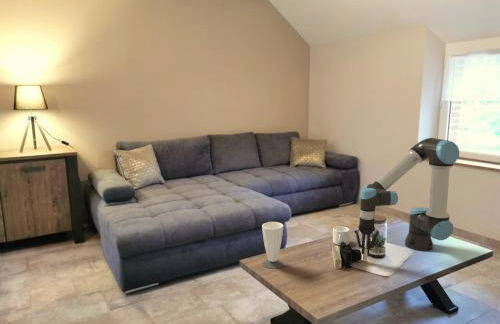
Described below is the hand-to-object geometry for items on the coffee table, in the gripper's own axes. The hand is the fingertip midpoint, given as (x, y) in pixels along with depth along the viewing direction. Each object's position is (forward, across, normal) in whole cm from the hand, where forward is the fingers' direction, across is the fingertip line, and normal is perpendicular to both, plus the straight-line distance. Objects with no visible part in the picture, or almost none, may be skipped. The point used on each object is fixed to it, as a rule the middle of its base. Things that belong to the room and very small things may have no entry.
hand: (365, 259), depth 199 cm
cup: (+2, +49, +7) cm, 49 cm away
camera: (+2, +8, +1) cm, 8 cm away
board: (+2, +15, 0) cm, 15 cm away
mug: (+2, +10, -24) cm, 26 cm away
